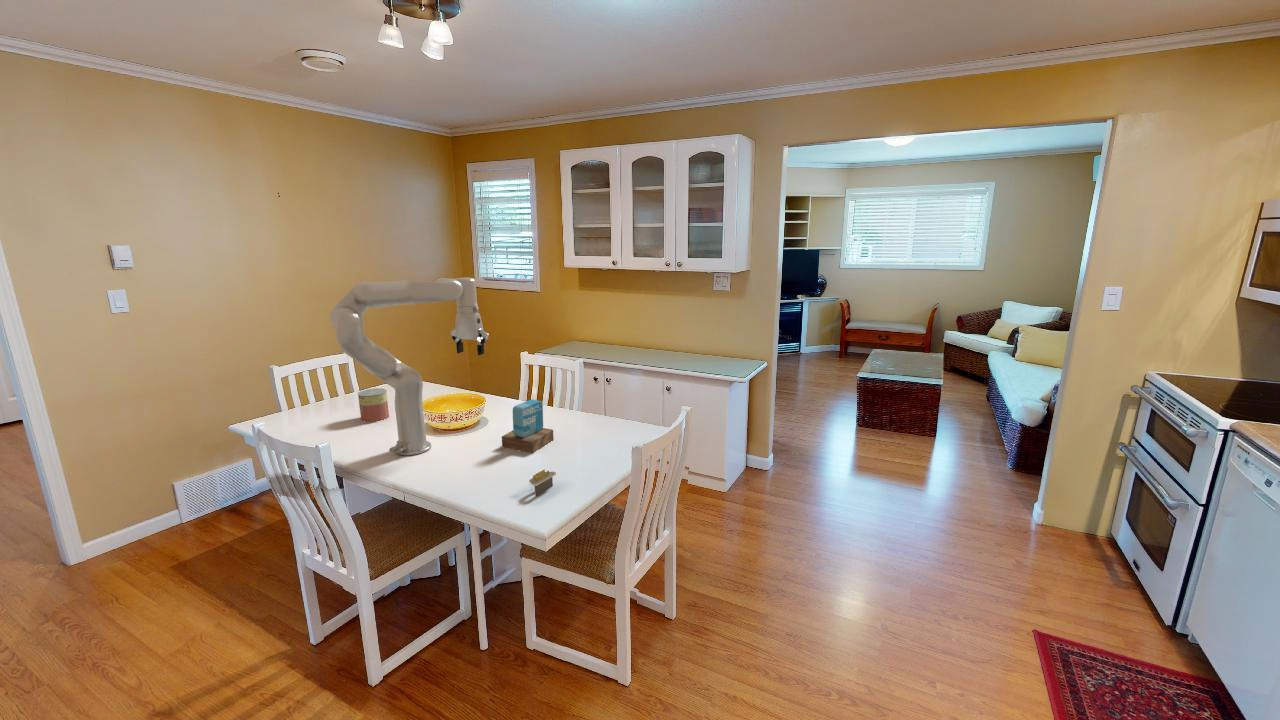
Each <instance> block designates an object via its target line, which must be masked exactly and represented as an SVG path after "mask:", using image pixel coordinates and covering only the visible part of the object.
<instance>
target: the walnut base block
mask: <svg viewBox="0 0 1280 720" xmlns="http://www.w3.org/2000/svg"><path fill="white" fill-rule="evenodd" d="M554 439H555V438H554V429H552V428H545V427H543V429H542V430H541V431H539V432H536V433H534V434H532V435H530V436H528V437H525V438H522V437H519V436H515V435H514V433H513V430H511V431H510V432H507V433H506V434H504V435H502V436H501V447H504V448H503V449H507V448H508V449H509V450H513V449H514V450H513V451H518V450H520V452H524V451H525V453H529V452H530V453H531V454H535V453H536V452H537V450H538V451H539V450H541V449H543V448H544V447H545V445H546V446H547V445H548V443H549V444H550V443H552V442H554ZM551 441H552V442H551ZM508 449H507V450H508ZM534 452H535V453H534ZM530 453H529V454H530Z"/></svg>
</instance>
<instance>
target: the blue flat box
mask: <svg viewBox="0 0 1280 720" xmlns="http://www.w3.org/2000/svg"><path fill="white" fill-rule="evenodd" d="M543 407H544V404H543V402H542V401H540V400H536V399H534V398H532V399H530V400H527V401H523V402H522V403H521V402H520V403H519V404H516V405H514V406H513V407H512V427H513V428H512V431H513V433H514V435H515V436H519V437H522V438H525V437H528V436H530V435H532V434H534V433H536V432H539V431H541V430H542V429H543V428H544V408H543Z"/></svg>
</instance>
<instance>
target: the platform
mask: <svg viewBox="0 0 1280 720" xmlns="http://www.w3.org/2000/svg"><path fill="white" fill-rule="evenodd" d="M545 470H546V469H542V470H541V471H538V472H537V473H535V474H533V475H532V478H530V479H529V481H528V482H529V484H530V485H531V486H534V493H535V497H537V496H539V495H541V494H542V493H544V492H546V491H547V490H549V489H551V488H553V487H552V486H554V483H553V477H555V476H556V475H557V473H556V472H555V471H550V470H549V469H548V470H546V471H545ZM550 487H551V488H550ZM545 490H546V491H545Z"/></svg>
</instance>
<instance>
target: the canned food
mask: <svg viewBox="0 0 1280 720" xmlns="http://www.w3.org/2000/svg"><path fill="white" fill-rule="evenodd" d="M387 391H388V390H387V389H385V388H378V387H377V388H376V387H375V388H369V389H363V390H361V391H359V392H357V395H358V397H357V398H358V403H359V413H360V414H359V415H360V421H361V420H362V421H365V422H364V423H366V422H373V423H377V422H376V421H380V422H382V421H381V420H383V421H385V420H384V419H386V420H388V419H390V413H389V401H388V395H387V393H388V392H387ZM387 418H388V419H387ZM362 421H361V422H362Z"/></svg>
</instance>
